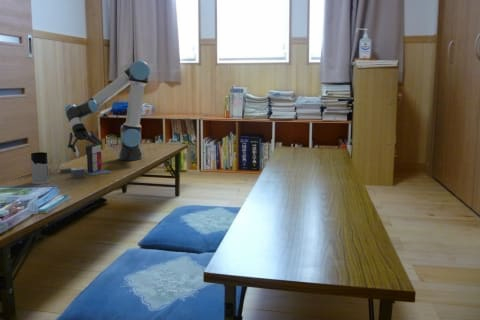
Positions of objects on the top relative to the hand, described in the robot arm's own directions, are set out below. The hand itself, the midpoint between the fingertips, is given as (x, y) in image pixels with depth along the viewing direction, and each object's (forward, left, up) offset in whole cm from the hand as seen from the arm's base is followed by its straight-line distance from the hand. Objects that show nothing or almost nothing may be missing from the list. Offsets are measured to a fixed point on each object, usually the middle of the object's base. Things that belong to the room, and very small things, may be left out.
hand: (89, 155), depth 258 cm
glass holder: (+30, +16, -9) cm, 35 cm away
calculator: (0, +7, -8) cm, 11 cm away
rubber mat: (0, +7, -9) cm, 11 cm away
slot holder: (+13, +7, -9) cm, 18 cm away
